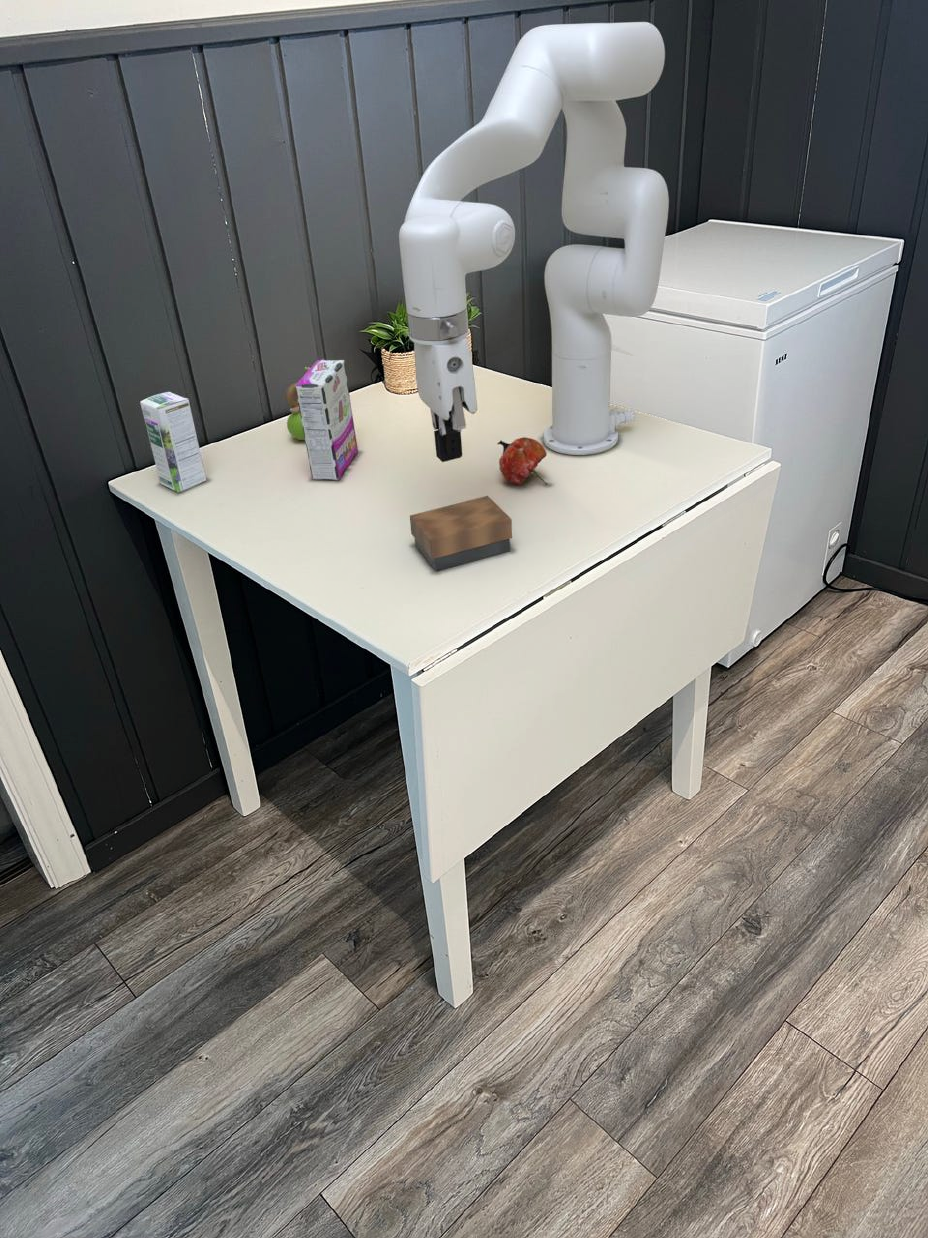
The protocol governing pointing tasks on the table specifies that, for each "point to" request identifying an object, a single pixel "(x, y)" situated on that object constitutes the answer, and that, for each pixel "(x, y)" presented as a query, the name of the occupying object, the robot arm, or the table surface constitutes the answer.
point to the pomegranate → (520, 459)
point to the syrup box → (173, 441)
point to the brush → (461, 532)
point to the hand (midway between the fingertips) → (449, 457)
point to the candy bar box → (327, 419)
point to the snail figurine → (294, 413)
